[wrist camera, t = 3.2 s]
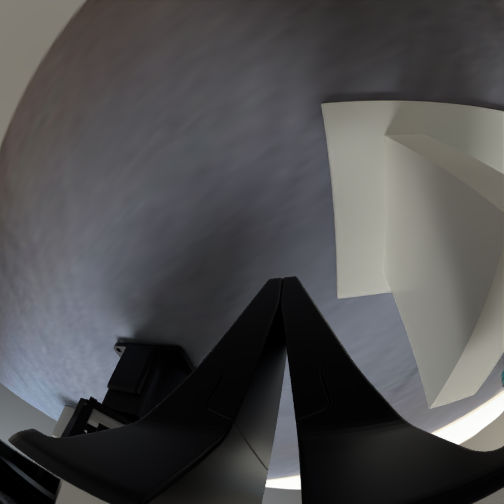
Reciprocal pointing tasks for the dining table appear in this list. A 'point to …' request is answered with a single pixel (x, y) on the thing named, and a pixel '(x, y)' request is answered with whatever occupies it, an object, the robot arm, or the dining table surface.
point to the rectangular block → (445, 261)
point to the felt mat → (374, 172)
